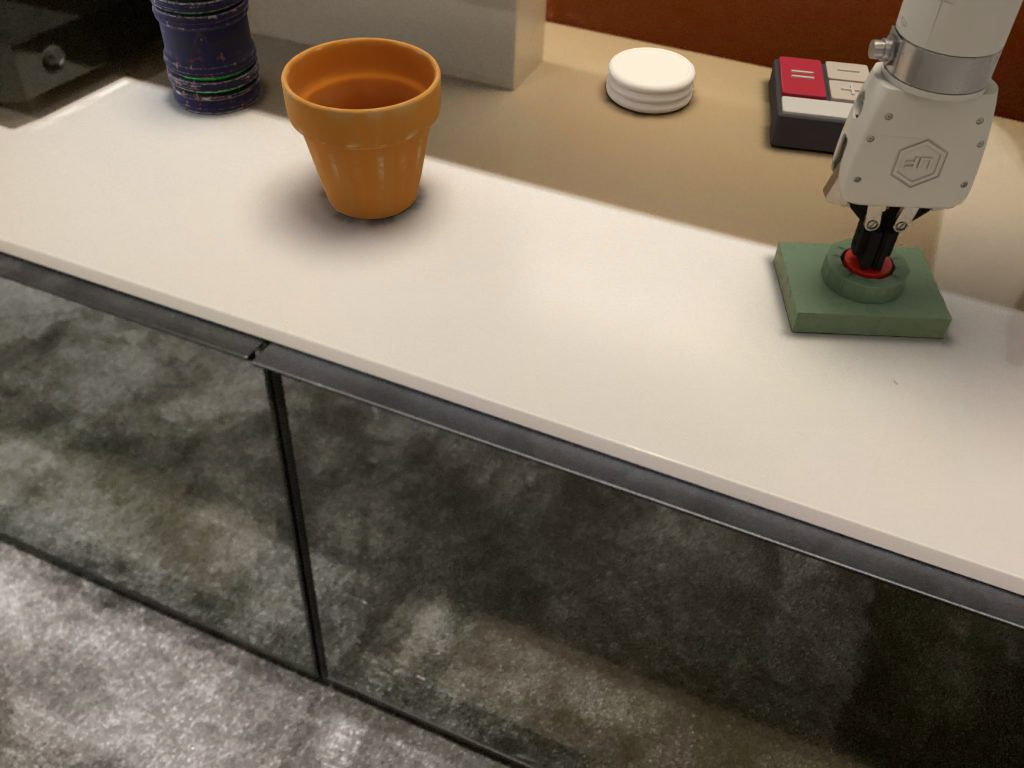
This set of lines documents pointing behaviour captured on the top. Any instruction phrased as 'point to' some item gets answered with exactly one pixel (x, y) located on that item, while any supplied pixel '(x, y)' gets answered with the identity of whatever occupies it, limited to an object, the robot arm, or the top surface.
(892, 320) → the button box
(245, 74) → the storage jar
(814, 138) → the calculator
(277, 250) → the top surface
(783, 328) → the top surface
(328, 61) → the flower pot
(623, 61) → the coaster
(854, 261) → the red push button
